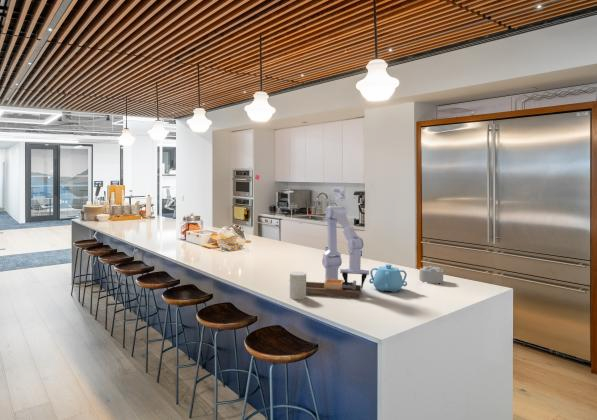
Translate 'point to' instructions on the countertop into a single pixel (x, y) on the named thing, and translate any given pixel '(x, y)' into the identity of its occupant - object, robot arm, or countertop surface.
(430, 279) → the lumpy-topped squat cylinder
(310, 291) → the bay
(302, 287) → the cup
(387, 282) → the decorative pot
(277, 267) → the countertop surface
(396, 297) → the countertop surface
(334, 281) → the drawer
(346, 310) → the countertop surface
